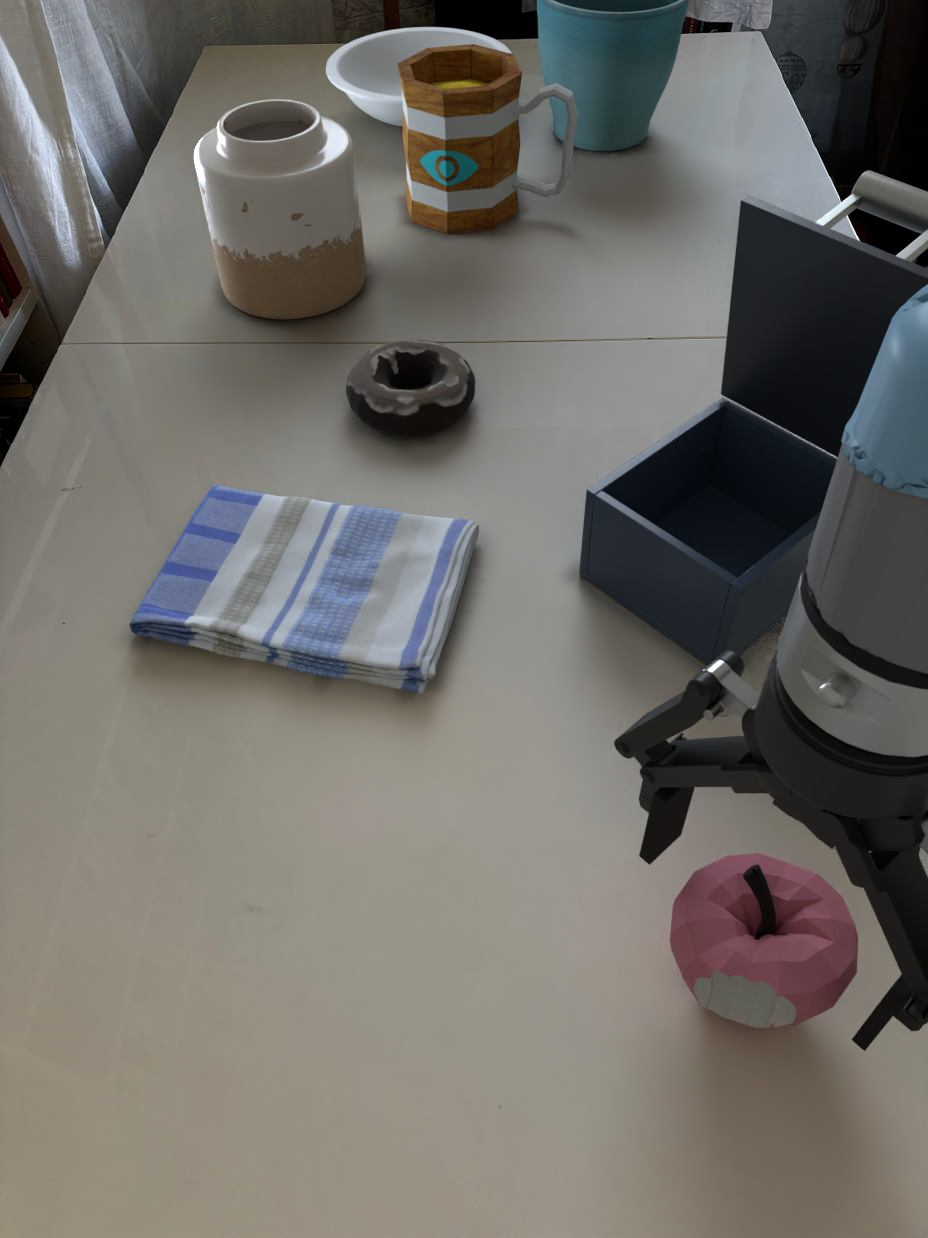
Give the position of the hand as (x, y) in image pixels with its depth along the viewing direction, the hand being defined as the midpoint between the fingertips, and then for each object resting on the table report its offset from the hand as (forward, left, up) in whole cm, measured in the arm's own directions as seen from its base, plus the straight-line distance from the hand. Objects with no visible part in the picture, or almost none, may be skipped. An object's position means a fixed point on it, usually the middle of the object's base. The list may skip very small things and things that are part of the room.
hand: (760, 930), depth 54 cm
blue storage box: (+15, -29, -6) cm, 33 cm away
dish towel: (+40, -11, -7) cm, 42 cm away
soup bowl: (+82, -86, -7) cm, 119 cm away
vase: (+70, -45, -7) cm, 83 cm away
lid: (+13, -35, +11) cm, 39 cm away
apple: (0, 0, -7) cm, 7 cm away
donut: (+47, -34, -7) cm, 58 cm away
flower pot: (+59, -93, -7) cm, 110 cm away
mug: (+61, -69, -7) cm, 92 cm away
